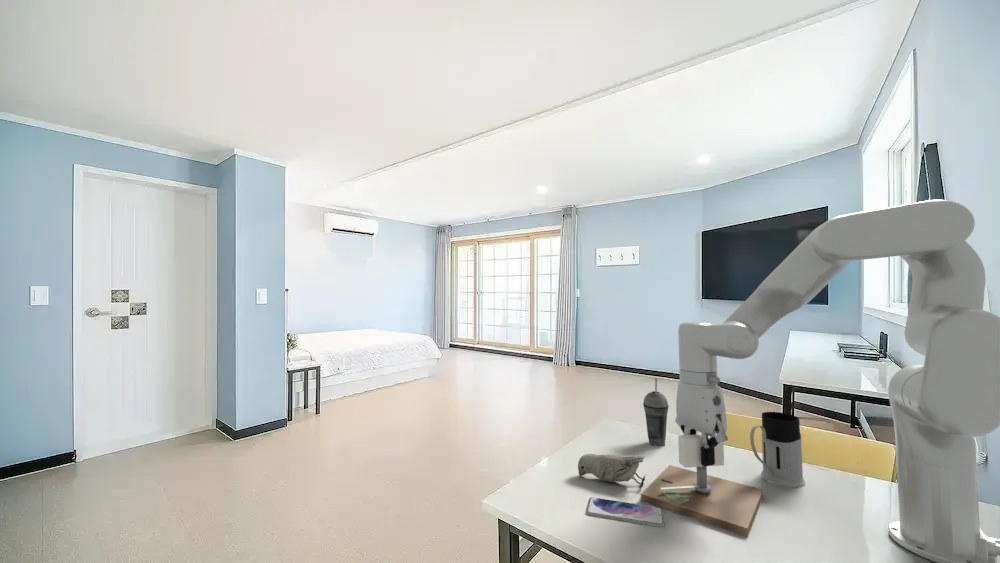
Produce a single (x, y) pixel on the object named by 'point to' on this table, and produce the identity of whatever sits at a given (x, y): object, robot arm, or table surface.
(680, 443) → the stand
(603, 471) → the decorative bird
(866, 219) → the robot arm
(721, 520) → the brown wooden flat slab
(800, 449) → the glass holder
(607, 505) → the smartphone
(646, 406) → the beverage cup
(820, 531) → the table surface
